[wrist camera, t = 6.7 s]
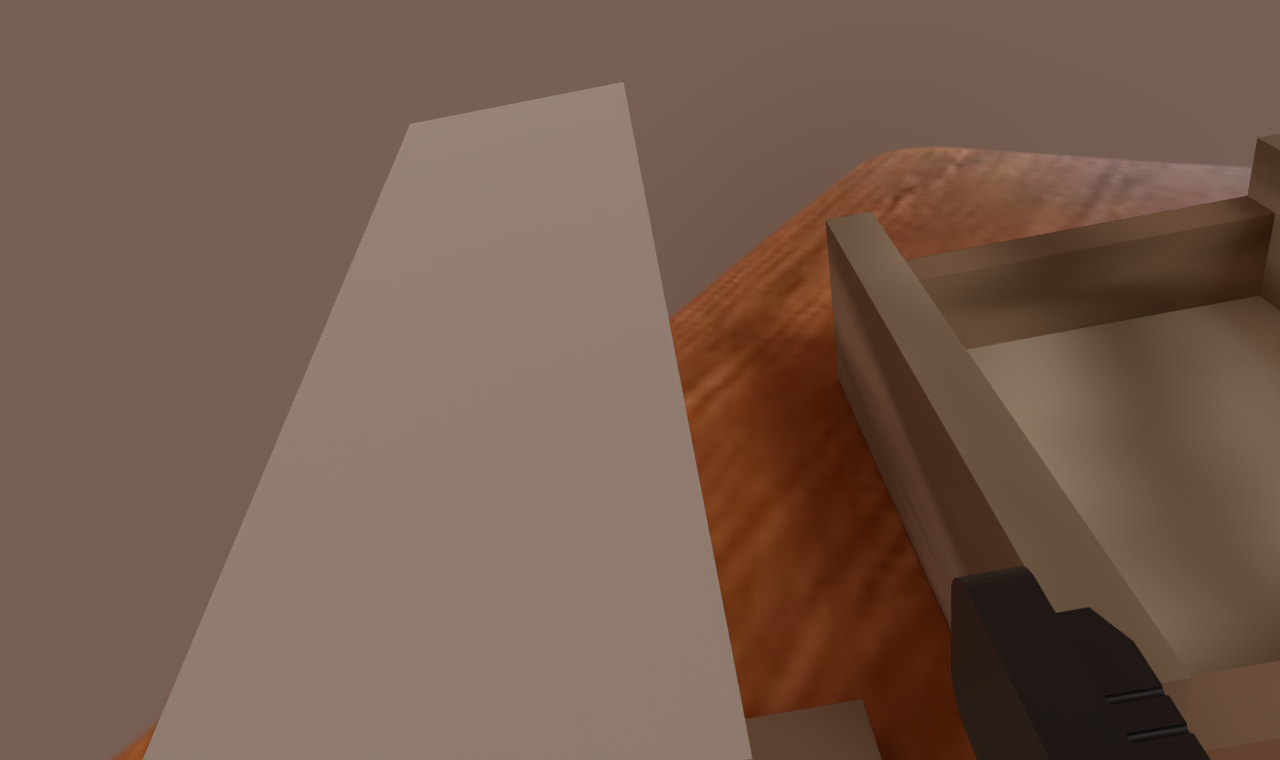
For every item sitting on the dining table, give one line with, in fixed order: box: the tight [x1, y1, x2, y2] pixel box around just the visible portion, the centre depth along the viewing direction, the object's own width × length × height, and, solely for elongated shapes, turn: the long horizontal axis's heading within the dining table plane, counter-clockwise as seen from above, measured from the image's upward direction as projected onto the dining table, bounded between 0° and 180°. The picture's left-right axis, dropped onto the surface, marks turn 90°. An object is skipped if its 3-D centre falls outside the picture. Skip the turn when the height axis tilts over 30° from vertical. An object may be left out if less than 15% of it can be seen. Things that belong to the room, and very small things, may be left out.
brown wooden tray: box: [826, 134, 1280, 760], centre depth 20 cm, size 12×15×5 cm
